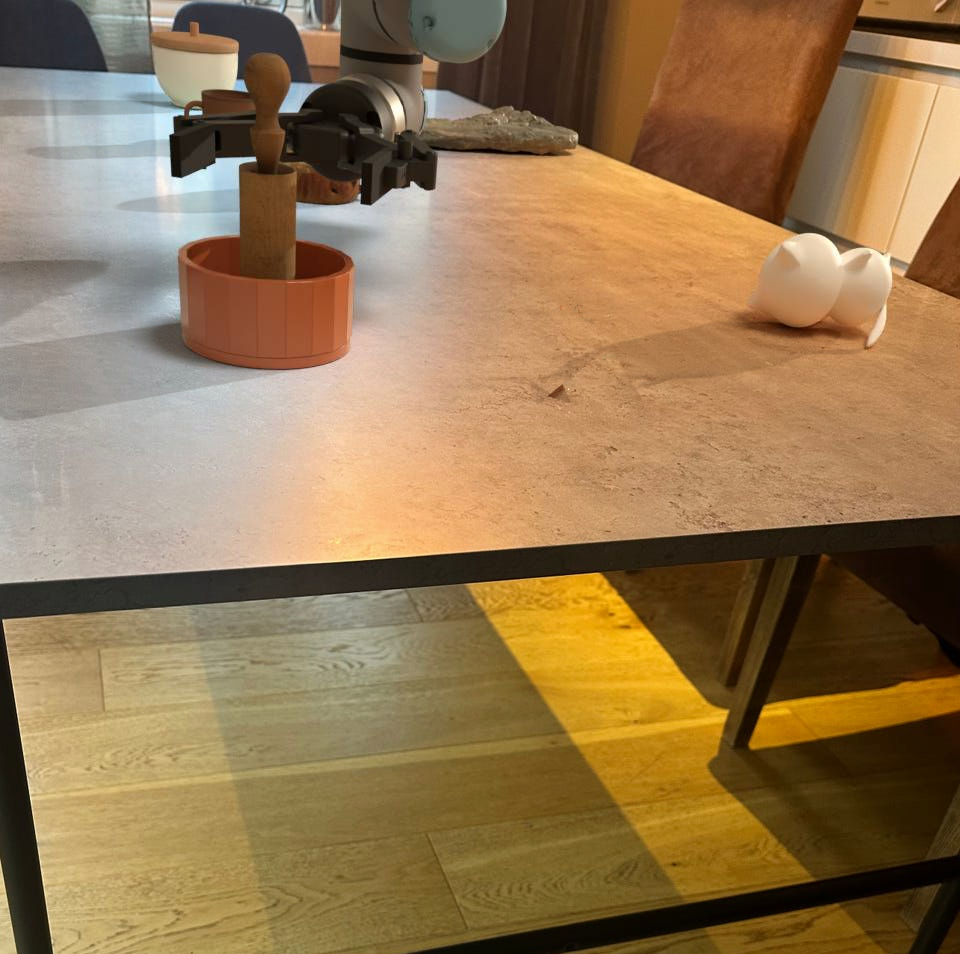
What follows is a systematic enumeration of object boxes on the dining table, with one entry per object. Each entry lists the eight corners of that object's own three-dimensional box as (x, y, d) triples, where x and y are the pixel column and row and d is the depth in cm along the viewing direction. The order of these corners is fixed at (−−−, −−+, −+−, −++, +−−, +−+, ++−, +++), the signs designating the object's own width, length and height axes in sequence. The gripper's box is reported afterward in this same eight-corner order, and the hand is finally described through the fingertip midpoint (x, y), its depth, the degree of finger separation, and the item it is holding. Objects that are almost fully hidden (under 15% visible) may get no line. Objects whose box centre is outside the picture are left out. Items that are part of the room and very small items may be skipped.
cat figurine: (904, 219, 95) (776, 204, 93) (929, 316, 91) (796, 302, 88) (854, 288, 103) (735, 276, 100) (875, 380, 98) (752, 369, 96)
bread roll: (311, 214, 129) (285, 144, 126) (384, 189, 124) (360, 115, 121) (270, 230, 121) (242, 155, 118) (347, 203, 116) (320, 124, 113)
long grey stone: (339, 142, 158) (353, 160, 150) (338, 102, 154) (353, 119, 147) (562, 141, 167) (586, 158, 160) (566, 104, 164) (591, 119, 157)
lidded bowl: (244, 104, 170) (243, 23, 164) (234, 116, 160) (232, 31, 154) (162, 95, 169) (157, 14, 163) (146, 107, 158) (141, 21, 152)
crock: (146, 342, 77) (140, 256, 74) (245, 304, 87) (244, 226, 83) (293, 382, 74) (294, 293, 70) (379, 337, 83) (384, 257, 80)
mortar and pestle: (275, 350, 76) (274, 62, 66) (203, 328, 78) (192, 47, 68) (330, 329, 81) (338, 59, 71) (261, 309, 83) (259, 45, 74)
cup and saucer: (228, 159, 133) (227, 104, 130) (164, 140, 139) (161, 87, 135) (298, 152, 142) (299, 100, 138) (235, 135, 147) (234, 84, 144)
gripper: (490, 195, 93) (443, 252, 75) (211, 155, 95) (102, 202, 78) (500, 99, 89) (452, 135, 71) (208, 59, 91) (92, 85, 73)
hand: (269, 170), depth 74 cm, fingers open, 13 cm apart
